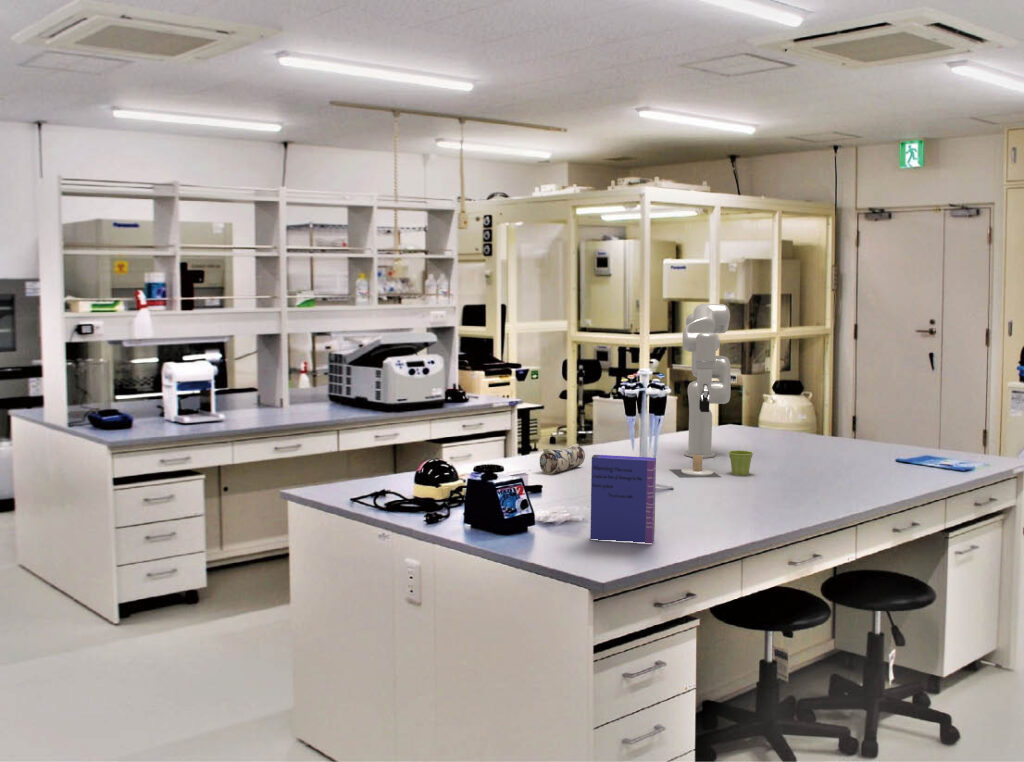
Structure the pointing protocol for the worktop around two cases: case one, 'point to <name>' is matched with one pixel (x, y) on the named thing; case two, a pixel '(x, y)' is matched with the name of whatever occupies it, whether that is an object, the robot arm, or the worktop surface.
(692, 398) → the robot arm
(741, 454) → the plant pot
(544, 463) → the pencil case
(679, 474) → the mat
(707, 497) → the worktop surface
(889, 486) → the worktop surface
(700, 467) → the lid
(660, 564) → the worktop surface
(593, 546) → the worktop surface
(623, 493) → the blue hardcover book
